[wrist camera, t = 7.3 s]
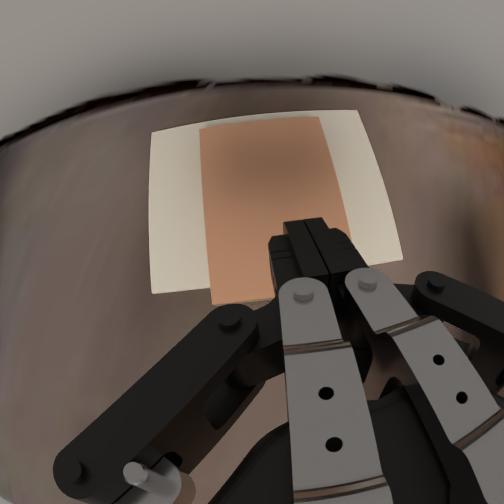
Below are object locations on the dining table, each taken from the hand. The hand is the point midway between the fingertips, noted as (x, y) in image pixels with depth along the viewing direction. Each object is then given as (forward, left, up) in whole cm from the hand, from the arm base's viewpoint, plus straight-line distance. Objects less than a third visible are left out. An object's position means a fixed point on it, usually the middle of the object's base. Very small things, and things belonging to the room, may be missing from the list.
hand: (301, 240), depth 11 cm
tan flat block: (0, -2, -9) cm, 9 cm away
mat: (0, +7, -10) cm, 13 cm away
